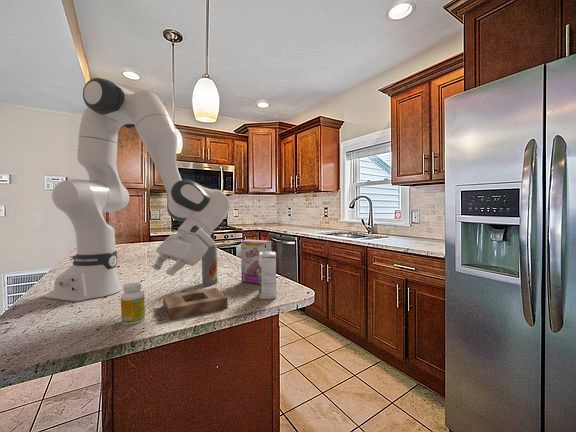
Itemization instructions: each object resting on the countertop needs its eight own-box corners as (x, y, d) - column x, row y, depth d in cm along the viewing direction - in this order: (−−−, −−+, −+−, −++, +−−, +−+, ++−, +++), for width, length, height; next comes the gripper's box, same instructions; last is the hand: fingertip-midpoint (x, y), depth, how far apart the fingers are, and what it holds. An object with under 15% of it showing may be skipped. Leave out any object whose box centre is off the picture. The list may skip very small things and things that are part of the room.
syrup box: (258, 293, 95) (258, 251, 95) (276, 293, 96) (275, 251, 95) (258, 299, 90) (257, 254, 89) (276, 298, 90) (276, 254, 90)
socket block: (169, 319, 75) (168, 308, 74) (163, 305, 85) (163, 296, 85) (227, 307, 83) (227, 297, 83) (215, 296, 93) (215, 287, 93)
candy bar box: (240, 282, 109) (240, 240, 109) (247, 279, 114) (247, 239, 113) (266, 285, 105) (265, 242, 104) (272, 282, 109) (271, 240, 109)
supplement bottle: (134, 326, 71) (133, 288, 70) (116, 324, 72) (115, 287, 72) (149, 317, 76) (148, 282, 76) (132, 316, 77) (131, 281, 77)
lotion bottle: (220, 282, 110) (219, 231, 109) (209, 286, 105) (208, 232, 104) (210, 280, 113) (209, 230, 112) (199, 283, 108) (197, 232, 107)
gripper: (170, 225, 91) (139, 260, 84) (203, 229, 77) (169, 270, 70) (184, 238, 95) (155, 272, 88) (217, 243, 81) (186, 284, 74)
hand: (161, 271), depth 79 cm, fingers open, 8 cm apart
